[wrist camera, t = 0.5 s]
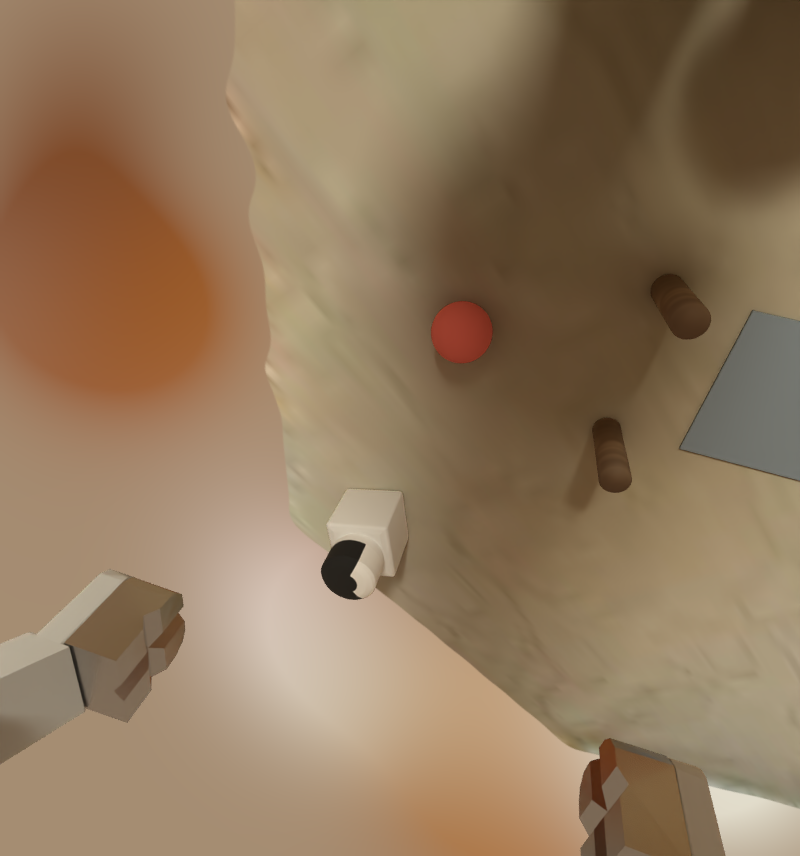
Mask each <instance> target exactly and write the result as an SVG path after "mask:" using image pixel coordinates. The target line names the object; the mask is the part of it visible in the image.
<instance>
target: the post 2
mask: <svg viewBox="0 0 800 856" xmlns="http://www.w3.org/2000/svg"><path fill="white" fill-rule="evenodd" d="M651 296H652V299H653V300H654V302H655V304H656V305H657V307H658V309H659V311H660V312H661V314H662V316H663V317H664V319H665V321H666V323H667V324H668V326H669V328H670V329H671V331H672V333H673V334H674V335H675V336H677V337H678V338H681V339H694V338H696V337H699V336H700V335H702V334H703V333H704V332H705V331H706V330H707V329H708V327H709V325H710V322H711V315H710V312H709V311H708V309H707V308H706V307H705V306H704V305H703V304H702V302H701V301H700V300H699V299H698V298H697V297H696V295H695V294H694V293H693V292H692V291H691V290H690V288H689V287H688V286H687V285H686V284H685V283H684V281H683V280H682V279H681V278H680V277H678V276H677V275H673V274H667V275H663V276H661V277H659V278H658V279H657V280H656V281H655V282H654V283H653V285H652V287H651Z"/></svg>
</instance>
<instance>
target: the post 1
mask: <svg viewBox="0 0 800 856" xmlns="http://www.w3.org/2000/svg"><path fill="white" fill-rule="evenodd" d="M593 438H594V446H595V454H596V461H597V469H598V477H599V483H600V486H601V487H602V488H603V489H604V490H606V491H608V492H613V493H618V492H622V491H624V490H626V489H627V488H628V487H629V486H630V485H631V482H632V477H631V472H630V468H629V463H628V459H627V454H626V450H625V445H624V441H623V436H622V432H621V427H620V424H619V423H618V422H617V421H616V420H614V419H612V418H602V419H600V420H598V421H597V422H596V423H595V424H594V426H593Z"/></svg>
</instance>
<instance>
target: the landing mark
mask: <svg viewBox="0 0 800 856" xmlns="http://www.w3.org/2000/svg"><path fill="white" fill-rule="evenodd" d="M679 448H680V449H682V450H686V451H690V452H694V453H697V454H701V455H705V456H709V457H712V458H716V459H720V460H724V461H728V462H731V463H735V464H739V465H743V466H746V467H750V468H754V469H758V470H762V471H765V472H769V473H773V474H777V475H780V476H784V477H788V478H792V479H796V480H799V481H800V321H797V320H793V319H788V318H784V317H780V316H775V315H771V314H766V313H762V312H758V311H753V310H752V312H751V314H750V316H749V318H748V320H747V321H746V323H745V325H744V327H743V329H742V331H741V333H740V335H739V337H738V338H737V340H736V342H735V344H734V346H733V348H732V350H731V352H730V353H729V355H728V357H727V359H726V361H725V363H724V365H723V367H722V368H721V370H720V372H719V374H718V376H717V378H716V380H715V382H714V384H713V385H712V387H711V389H710V391H709V393H708V395H707V397H706V399H705V400H704V402H703V404H702V406H701V408H700V410H699V412H698V414H697V415H696V417H695V419H694V421H693V423H692V425H691V427H690V429H689V431H688V432H687V434H686V436H685V438H684V440H683V442H682V444H681V446H680V447H679Z"/></svg>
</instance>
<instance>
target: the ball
mask: <svg viewBox="0 0 800 856" xmlns="http://www.w3.org/2000/svg"><path fill="white" fill-rule="evenodd" d="M492 334H493V329H492V323H491V320H490V318H489V316H488V314H487V313H486V312H485V311H484V310H483V309H482V308H481V307H480V306H478V305H476V304H474V303H471V302H467V301H458V302H454V303H451V304H449V305H447V306H445V307H444V308H442V309H441V310H440V311H439V313H438V314H437V315H436V317H435V319H434V321H433V324H432V328H431V338H432V342H433V345H434V347H435V349H436V350H437V352H438V353H439V354H440V355H441V356H442V357H443V358H445V359H447V360H449V361H451V362H455V363H468V362H471V361H474V360H476V359H478V358H479V357H480V356H482V355H483V354H484V353H485V352H486V350H487V349H488V347H489V345H490V343H491V340H492Z"/></svg>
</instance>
